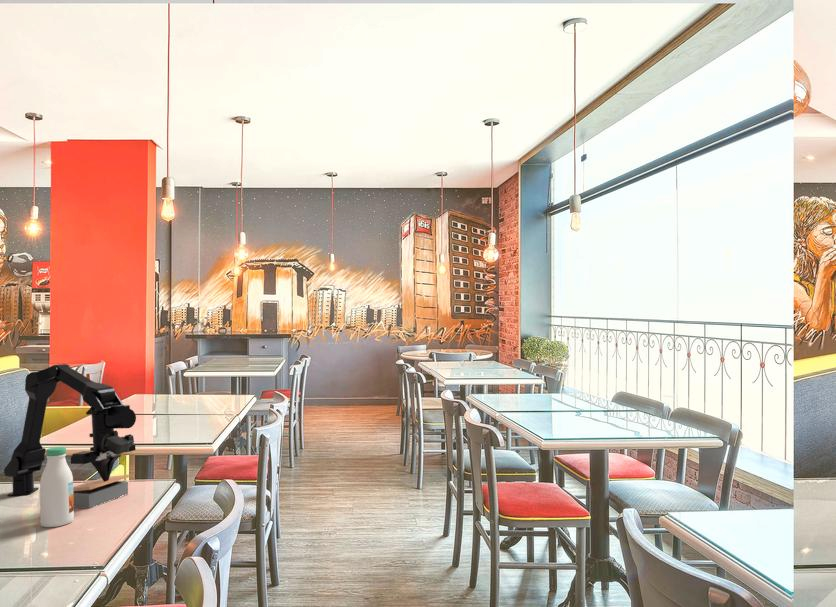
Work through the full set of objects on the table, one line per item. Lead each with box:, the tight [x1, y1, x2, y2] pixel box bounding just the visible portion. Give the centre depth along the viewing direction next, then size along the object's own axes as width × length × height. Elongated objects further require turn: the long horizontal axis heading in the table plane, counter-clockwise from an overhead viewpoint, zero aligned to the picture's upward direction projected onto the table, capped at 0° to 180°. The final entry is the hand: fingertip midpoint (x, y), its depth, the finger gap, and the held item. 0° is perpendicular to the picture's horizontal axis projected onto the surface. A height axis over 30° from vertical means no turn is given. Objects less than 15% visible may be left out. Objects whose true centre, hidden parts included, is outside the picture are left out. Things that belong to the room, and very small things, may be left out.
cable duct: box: [73, 480, 129, 509], centre depth 182 cm, size 9×14×4 cm, turn 160°
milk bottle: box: [39, 446, 75, 528], centre depth 162 cm, size 8×8×20 cm
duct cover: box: [73, 474, 130, 491], centre depth 182 cm, size 10×14×1 cm
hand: (106, 481), depth 181 cm, fingers closed, pressing on duct cover
